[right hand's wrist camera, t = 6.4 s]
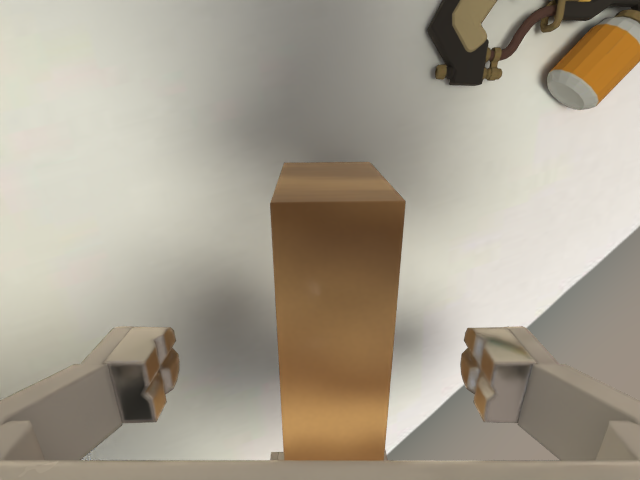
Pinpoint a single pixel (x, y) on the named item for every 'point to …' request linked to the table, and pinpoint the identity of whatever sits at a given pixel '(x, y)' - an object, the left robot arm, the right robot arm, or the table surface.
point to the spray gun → (568, 4)
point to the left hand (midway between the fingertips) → (328, 456)
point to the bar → (335, 306)
